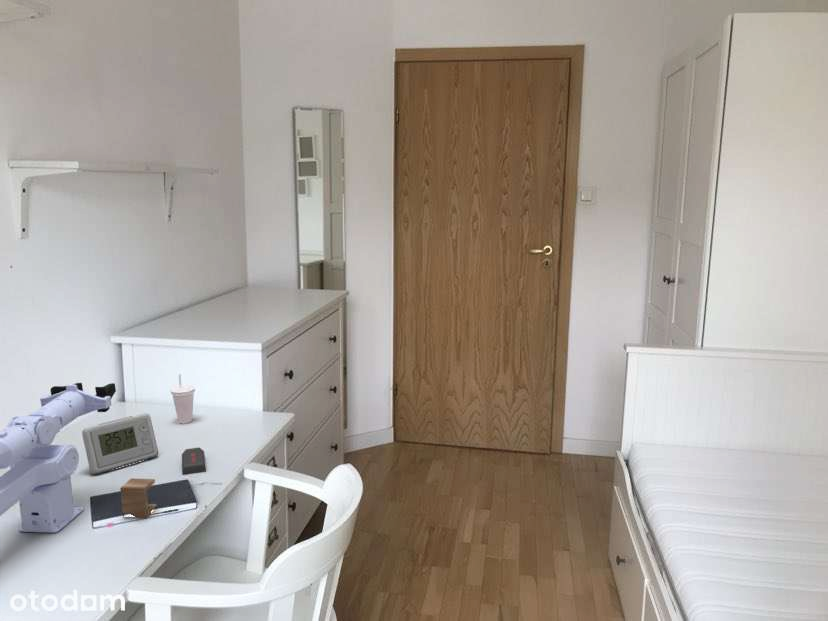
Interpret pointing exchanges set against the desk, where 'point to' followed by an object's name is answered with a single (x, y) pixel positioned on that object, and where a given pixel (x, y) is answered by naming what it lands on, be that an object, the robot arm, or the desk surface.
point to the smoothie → (183, 402)
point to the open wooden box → (136, 497)
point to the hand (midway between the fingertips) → (97, 387)
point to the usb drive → (193, 461)
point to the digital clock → (119, 443)
